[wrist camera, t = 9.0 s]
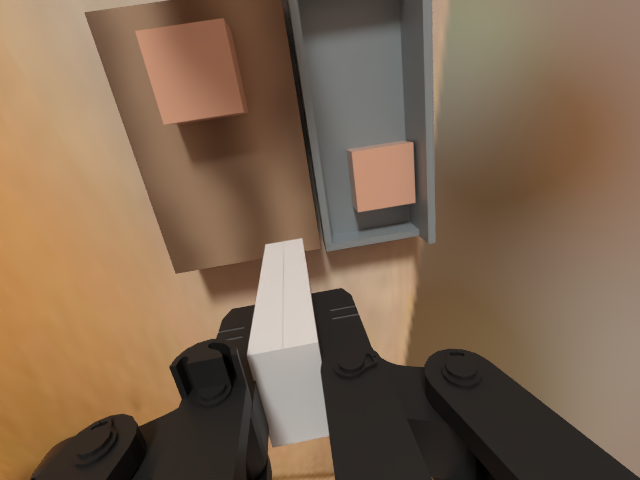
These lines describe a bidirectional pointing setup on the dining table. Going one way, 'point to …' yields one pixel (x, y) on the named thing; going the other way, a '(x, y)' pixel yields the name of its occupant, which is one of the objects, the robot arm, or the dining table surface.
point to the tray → (366, 107)
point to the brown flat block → (216, 137)
